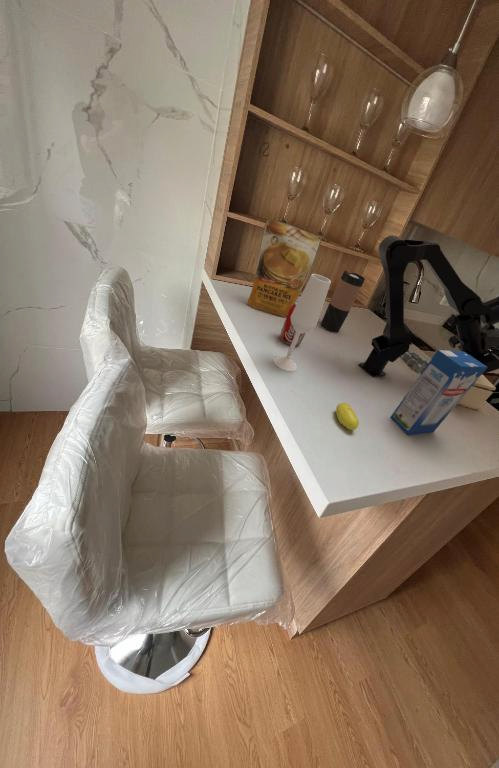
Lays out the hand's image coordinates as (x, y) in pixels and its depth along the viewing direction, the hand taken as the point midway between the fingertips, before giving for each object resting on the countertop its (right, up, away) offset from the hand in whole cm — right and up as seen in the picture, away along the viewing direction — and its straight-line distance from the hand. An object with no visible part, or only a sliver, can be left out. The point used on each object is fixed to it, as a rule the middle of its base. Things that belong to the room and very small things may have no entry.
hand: (477, 373), depth 100 cm
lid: (-2, -1, +1) cm, 2 cm away
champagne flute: (-60, +2, -11) cm, 61 cm away
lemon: (-48, -12, -25) cm, 56 cm away
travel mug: (-40, +17, +21) cm, 48 cm away
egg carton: (-12, +3, +16) cm, 20 cm away
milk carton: (-29, -14, -18) cm, 36 cm away
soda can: (-57, +10, +1) cm, 58 cm away
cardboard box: (-4, -7, +5) cm, 9 cm away
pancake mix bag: (-63, +23, +17) cm, 69 cm away
